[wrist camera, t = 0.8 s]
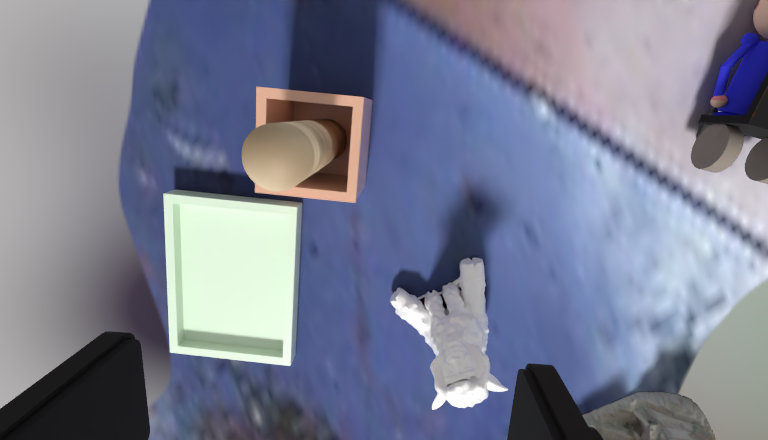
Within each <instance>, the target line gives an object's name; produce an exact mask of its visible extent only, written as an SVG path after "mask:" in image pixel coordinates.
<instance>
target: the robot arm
mask: <svg viewBox="0 0 768 440" xmlns="http://www.w3.org/2000/svg"><path fill="white" fill-rule="evenodd" d="M149 434H150V425H149V416H148V406H147V397H146V388H145V379H144V370H143V360H142V351H141V344H140V342H139V341H138V340H136V339H135V337H134V335H133V334H131V333H123V332H104V333H102V334H101V335H100V336H98V337H97V338H96V339H94V340H93V341H91V342H90V343H89V344H87V345H86V346H85V347H83V348H82V349H81V350H79V351H78V352H77V353H76V354H74V355H73V356H71V357H70V358H68V359H67V360H66V361H64V362H63V363H62V364H60V365H59V366H58V367H56V368H55V369H54V370H52V371H51V372H50V373H48V374H47V375H45V376H44V377H43V378H42V379H40V380H39V381H37V382H36V383H35V384H33V385H32V386H31V387H29V388H28V389H27V390H25V391H24V392H23V393H21V394H20V395H19V396H17V397H16V398H15V399H13V400H12V401H10V402H9V403H8V404H6V405H5V406H3V407H2V408H1V409H0V440H148V438H149ZM507 440H603V438H602V436H601V435H600V433H599V432H598V431H597V430H596V429H595V428H593V427H589V426H588V425H587V423H586V421H585V419H584V418H583V416H582V414H581V412H580V411H579V409H578V407H577V405H576V404H575V402H574V400H573V399H572V397H571V395H570V393H569V392H568V390H567V388H566V386H565V385H564V383H563V381H562V379H561V378H560V376H559V374H558V372H557V371H556V369H555V368H554V366H552V365H542V364H527V366H526V369H520V370H519V371H518V375H517V381H516V387H515V394H514V400H513V406H512V413H511V419H510V426H509V432H508V438H507Z"/></svg>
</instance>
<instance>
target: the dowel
mask: <svg viewBox="0 0 768 440" xmlns="http://www.w3.org/2000/svg"><path fill="white" fill-rule="evenodd" d="M346 145H347V136H346V133H345V130H344V129H343V127H342V126H341V125H340V124H339V123H338V122H336V121H334V120H332V119H314V120H303V121H291V122H279V123H269V124H264V125H261V126H259V127H257V128H255V129H254V130H253V131H252V132H251V133H250V134H249V135H248V136H247V138H246V140H245V142H244V144H243V148H242V162H243V166H244V169H245V171H246V173H247V174H248V176H249V177H250V178H251V180H252V181H253V182H254V183H256V184H257V185H258V186H260V187H262V188H264V189H266V190H270V191H278V192H279V191H286V190H289V189H291V188H293V187H295V186H296V185H298V184H299V183H301V182H302V181H304V180H305V179H307V178H308V177H310V176H311V175H313V174H314V173H315V172H317V171H318V170H320V169H321V168H323V167H324V166H326V165H327V164H329V163H330V162H332V161H333V160H335V159H336V158H337V157H339V156H340V155H341V154H342V153H343V152H344V150H345V148H346Z"/></svg>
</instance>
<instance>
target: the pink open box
mask: <svg viewBox="0 0 768 440" xmlns="http://www.w3.org/2000/svg"><path fill="white" fill-rule="evenodd" d="M372 102H373V100H371V99H368V98H365V97H358V96H347V95H337V94H327V93H316V92H306V91H296V90H285V89H275V88H265V87H257V90H256V128H257V127H259V126H261V125H264V124H269V123H279V122H291V121H303V120H314V119H332V120H334V121H336V122H338V123H339V124H340V125H341V126H342V127H343V129H344V130H345V133H346V136H347V145H346V148H345V150H344V152H343V153H342V154H341V155H340V156H339V157H337V158H336V159H335V160H333V161H332V162H330V163H329V164H327V165H326V166H324V167H323V168H321V169H320V170H318V171H317V172H315V173H314V174H313V175H311V176H310V177H308V178H307V179H305V180H304V181H302V182H301V183H299V184H298V185H296V186H295V187H293V188H291V189H289V190H286V191H279V192H278V191H270V190H266V189H264V188H262V187H260V186H258V185H257V184H256V183H255V193H264V194H274V195H284V196H293V197H303V198H313V199H323V200H332V201H342V202H352V203H356V201H357V199H358V197H359V196H360V194H361V192H362V190H363V188H364V186H365V185H366V173H367V162H368V150H369V138H370V126H371V114H372Z"/></svg>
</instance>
